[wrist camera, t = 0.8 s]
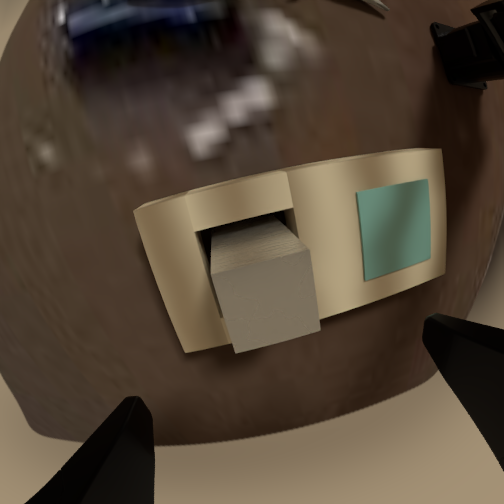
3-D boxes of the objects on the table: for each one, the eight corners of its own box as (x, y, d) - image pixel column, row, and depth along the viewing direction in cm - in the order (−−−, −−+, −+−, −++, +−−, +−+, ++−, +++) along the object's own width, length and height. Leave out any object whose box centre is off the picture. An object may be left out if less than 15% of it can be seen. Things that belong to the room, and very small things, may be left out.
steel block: (272, 214, 19) (309, 249, 12) (283, 270, 21) (320, 330, 13) (211, 229, 19) (210, 274, 12) (227, 284, 21) (235, 353, 13)
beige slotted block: (417, 147, 19) (443, 148, 16) (424, 261, 22) (446, 274, 19) (145, 203, 18) (132, 211, 15) (187, 329, 21) (185, 354, 18)
